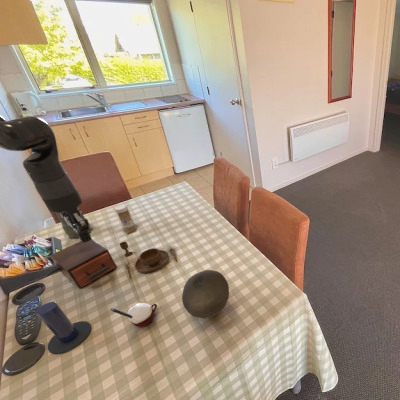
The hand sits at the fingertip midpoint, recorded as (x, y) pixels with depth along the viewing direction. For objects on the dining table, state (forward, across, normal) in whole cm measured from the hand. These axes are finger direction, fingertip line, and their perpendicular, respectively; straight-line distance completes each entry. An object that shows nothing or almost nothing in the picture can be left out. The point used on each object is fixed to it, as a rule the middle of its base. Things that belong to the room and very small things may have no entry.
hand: (86, 240), depth 83 cm
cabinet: (+23, +20, 0) cm, 30 cm away
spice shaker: (+22, -7, +16) cm, 28 cm away
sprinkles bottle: (+23, +32, -22) cm, 45 cm away
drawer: (+22, +16, 0) cm, 27 cm away
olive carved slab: (+23, +51, -9) cm, 57 cm away
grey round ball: (+23, -36, -12) cm, 44 cm away
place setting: (+23, +6, -16) cm, 29 cm away
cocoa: (+23, -21, +2) cm, 31 cm away
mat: (+23, -7, +16) cm, 29 cm away
